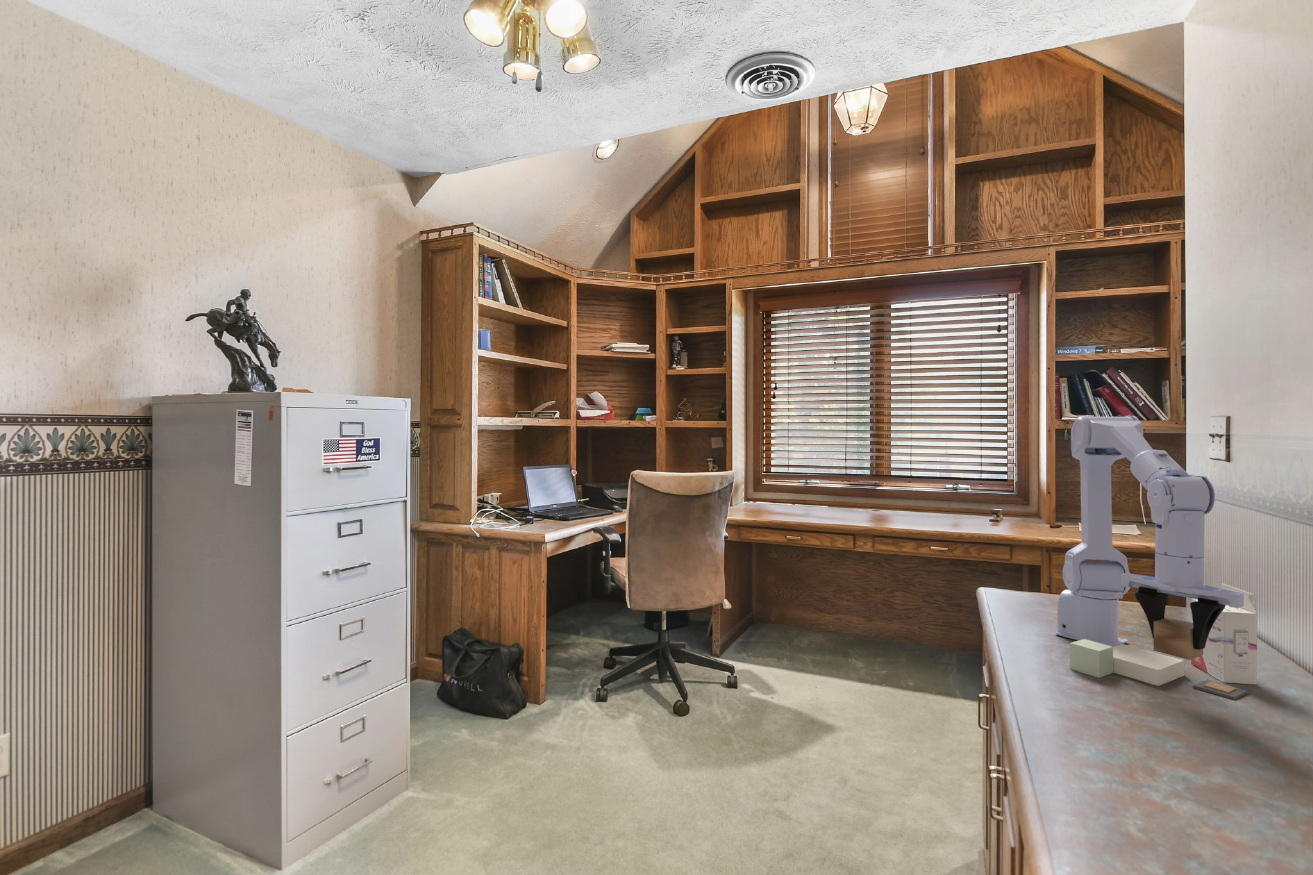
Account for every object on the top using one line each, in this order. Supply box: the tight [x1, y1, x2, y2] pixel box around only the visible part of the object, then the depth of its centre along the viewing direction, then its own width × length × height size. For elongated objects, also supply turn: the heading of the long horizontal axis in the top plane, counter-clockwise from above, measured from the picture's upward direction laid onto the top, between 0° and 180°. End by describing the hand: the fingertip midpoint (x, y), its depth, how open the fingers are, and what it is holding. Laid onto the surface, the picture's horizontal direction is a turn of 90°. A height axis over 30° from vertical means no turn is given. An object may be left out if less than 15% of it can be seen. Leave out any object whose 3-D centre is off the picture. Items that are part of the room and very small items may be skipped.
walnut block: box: [1152, 616, 1203, 661], centre depth 94 cm, size 4×4×4 cm
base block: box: [1112, 643, 1185, 687], centre depth 104 cm, size 9×9×3 cm
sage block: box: [1069, 639, 1113, 679], centre depth 104 cm, size 4×4×4 cm
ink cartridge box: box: [1190, 582, 1258, 685], centre depth 103 cm, size 9×5×15 cm, turn 168°
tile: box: [1192, 679, 1249, 701], centre depth 96 cm, size 5×5×1 cm
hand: (1178, 643), depth 94 cm, fingers closed on walnut block, 4 cm apart
